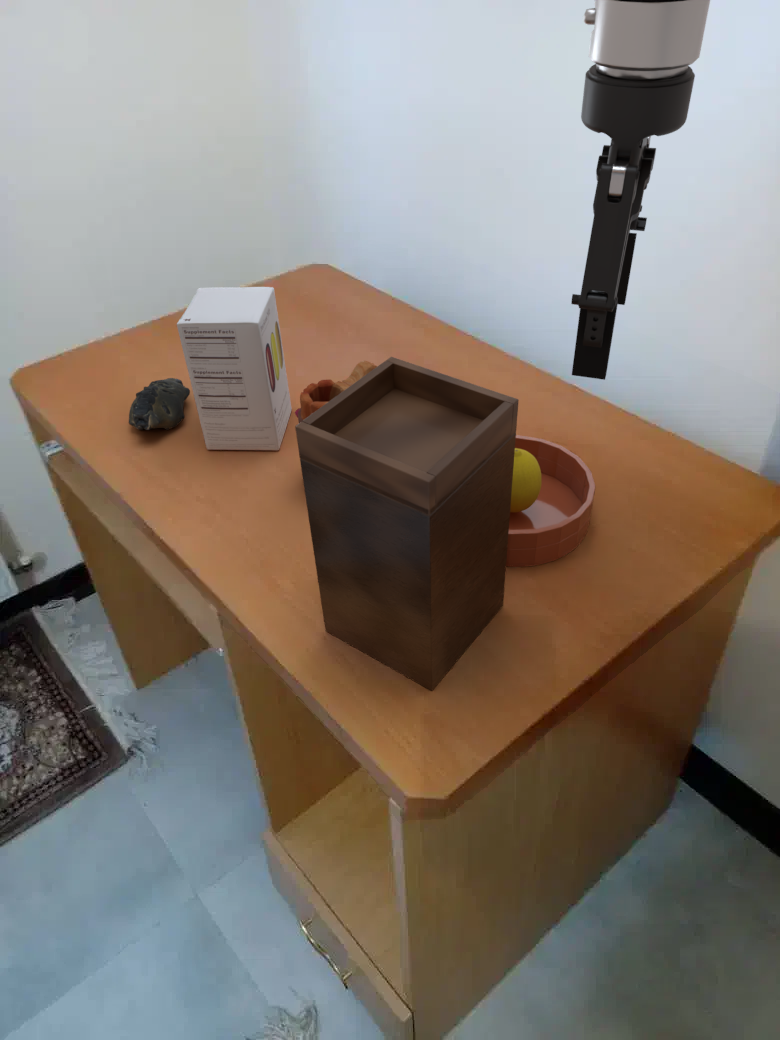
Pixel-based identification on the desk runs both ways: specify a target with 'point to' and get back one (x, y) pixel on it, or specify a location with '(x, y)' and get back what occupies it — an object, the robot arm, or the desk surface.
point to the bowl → (551, 507)
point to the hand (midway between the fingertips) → (600, 336)
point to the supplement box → (237, 367)
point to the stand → (411, 566)
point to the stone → (159, 405)
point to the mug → (328, 390)
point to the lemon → (524, 481)
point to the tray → (408, 432)
